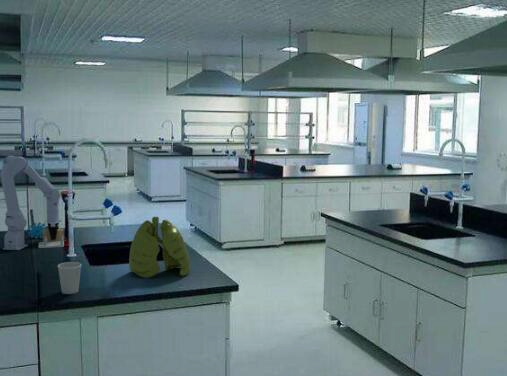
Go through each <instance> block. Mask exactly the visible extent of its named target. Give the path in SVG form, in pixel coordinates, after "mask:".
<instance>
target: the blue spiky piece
mask: <svg viewBox="0 0 507 376" xmlns="http://www.w3.org/2000/svg"><path fill="white" fill-rule="evenodd" d="M47 226H48V225H47ZM47 226H46V225H45V223H41V222H38V223H37V222H34V223H33V225H32V224H30V225H29V227H28V228H27V231H28V232H27V234H28V236H30V238H31V239H33V238H34V239H35V240H38V239H43V232H42V231H43V230H48V228H47Z"/></svg>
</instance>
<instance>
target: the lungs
mask: <svg viewBox="0 0 507 376" xmlns="http://www.w3.org/2000/svg"><path fill="white" fill-rule="evenodd" d="M159 220H160V218H159V216H152V218H151V221H150V220H148V219H147V220H145V221H143V223H142V224H141V225H140V226H139V227H138V229H137V230H136V233H135V234H134V236H133V238H132V239H133V240H132V242H131V245H130V250H129V259H128V261H129V262H128V264H129V266H128V267H129V271H130V272H132V273H134V274H136V275H138V276H139V277H141V278H145V279H146V278H152V277H154V276H156V275H157V274H158V273H159V272H160V270H161V266H160V264H159V262H158V260H157V258H158V257H157V256H158V254H159V252H160V245H161V246H162V257H163V263H164V270H169V268H170V269H172V268H173V269H175V268H174V267H177V268H180V270H179V275H180V276H181V277H185V276H187V275H188V274H189V272H190V270H191V260H190V254H189V250H188V248H187V247H188V246H187V244H186V243H185V241H184V237H183V235H182V234H181V232H180V231H179V230H178V229H179V228H177V226H175V225H174V224H173V222H170V221H169V220H168V219H163V220H162V221H161V223H160V228H159V222H160V221H159ZM159 229H160V233H161V238H160V235H159ZM159 244H160V245H159ZM184 275H185V276H184Z"/></svg>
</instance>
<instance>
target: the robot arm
mask: <svg viewBox="0 0 507 376" xmlns="http://www.w3.org/2000/svg"><path fill="white" fill-rule="evenodd" d="M21 171H22V172H24V173H25V174H27V176H28V177H30V179H31V180H33V181H34V182H35V183H34V184H35V187H36V188H37V189H38V190H40V191H41V192H42V194H43V197H44V198H45V199H46V223H47V224H46V225H47V230H49V233H50V237H51V240H56V235H57V230H58V229H60V228H59V227H60V225H59V224H60V223H61V222H62V219H60V213H59V209H60V206H59V205H60V203H59V202H60V201H59V200H60V198H61V195H62V193H60V190H59V189H57V188H55V185H54V184H52V183H50V181H49V179H48V178H47V177H44V176H42V177H41V176H40V174H39V173H38V172H37V171H36V170H35V169H34V168H33V167H32V165H31V164H30V163H29V161H28V160H26V159H25V158H24V157H23V156H21V155H20V156H15V155H11V154H10V155H7V156H5V158H4V159H3V160H2V167H1V170H0V181H1V185H2V190H3V196H4V200H5V205H6V209H7V210H6V212H5V220H4V224H5V226H6V227H7V232H6V233H5V234H4V237H3V239H4V241H3V242H4V245H3V246H4V247H3V248H2V250H5V251H7V250H8V251H20V250H22V249H24V248H26V247H28V246H29V244H25V228H26V226H27V219H26V218H25V216H24V213H23V212H22V210H21V209H20V204H19V200H18V198H19V197H18V194H17V189H16V184H15V179H14V177H15V176H16V175H17V173H19V172H21Z"/></svg>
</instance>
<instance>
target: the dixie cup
mask: <svg viewBox="0 0 507 376" xmlns="http://www.w3.org/2000/svg"><path fill="white" fill-rule="evenodd" d="M57 268H58V269H57V270H58V276H59V282H60V288H61V293H62V294H63V295H65V294H66V295H73V294H76V293H79V288H80V287H79V286H80V280H81V279H80V278H81V270H82V263H81V262H78V261H77V262H76V261H68V262H67V261H66V262H62V263H59V264H58V265H57Z"/></svg>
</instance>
